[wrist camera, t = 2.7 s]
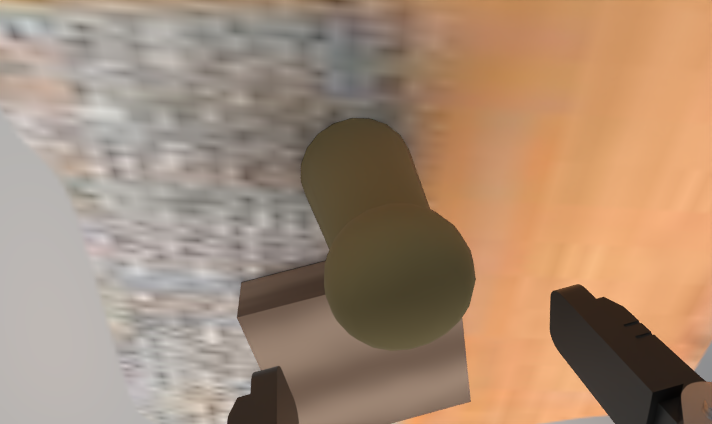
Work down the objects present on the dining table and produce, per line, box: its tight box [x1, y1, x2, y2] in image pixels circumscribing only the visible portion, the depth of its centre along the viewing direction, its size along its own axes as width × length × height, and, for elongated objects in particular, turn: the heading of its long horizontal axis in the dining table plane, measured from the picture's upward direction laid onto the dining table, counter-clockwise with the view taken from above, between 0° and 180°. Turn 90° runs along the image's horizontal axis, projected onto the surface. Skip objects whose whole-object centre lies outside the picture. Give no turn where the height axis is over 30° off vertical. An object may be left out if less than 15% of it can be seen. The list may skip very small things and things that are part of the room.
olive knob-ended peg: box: [301, 118, 476, 351], centre depth 18 cm, size 6×6×11 cm
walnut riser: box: [237, 261, 471, 424], centre depth 27 cm, size 12×12×3 cm
